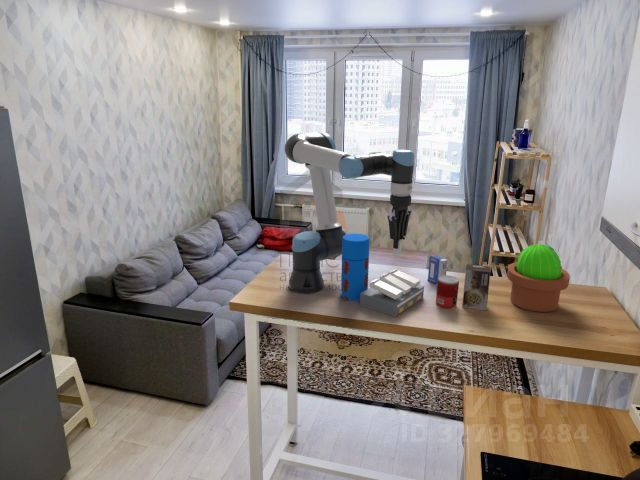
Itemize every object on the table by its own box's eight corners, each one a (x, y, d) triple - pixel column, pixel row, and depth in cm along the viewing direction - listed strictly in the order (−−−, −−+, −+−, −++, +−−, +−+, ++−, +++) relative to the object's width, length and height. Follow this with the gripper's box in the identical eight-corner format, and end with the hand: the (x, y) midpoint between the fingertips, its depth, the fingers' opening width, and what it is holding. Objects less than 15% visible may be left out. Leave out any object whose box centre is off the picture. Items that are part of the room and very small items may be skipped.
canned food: (457, 309, 179) (459, 283, 175) (435, 307, 180) (438, 281, 177) (455, 301, 186) (458, 276, 183) (435, 299, 187) (437, 274, 184)
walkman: (427, 280, 207) (429, 255, 203) (432, 279, 208) (434, 254, 204) (440, 286, 200) (443, 260, 197) (445, 285, 202) (447, 259, 198)
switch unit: (359, 304, 183) (360, 289, 181) (389, 287, 199) (390, 273, 197) (395, 316, 173) (396, 300, 171) (423, 297, 189) (424, 282, 187)
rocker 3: (388, 276, 190) (389, 271, 189) (394, 273, 193) (395, 268, 193) (413, 287, 184) (415, 282, 183) (419, 284, 187) (420, 279, 186)
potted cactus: (504, 310, 179) (512, 248, 171) (503, 288, 198) (511, 232, 191) (567, 319, 172) (579, 255, 164) (560, 296, 191) (570, 238, 184)
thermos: (335, 295, 191) (336, 237, 184) (352, 287, 199) (353, 231, 191) (356, 303, 184) (358, 243, 177) (372, 295, 192) (375, 237, 184)
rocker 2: (379, 279, 185) (380, 274, 184) (385, 276, 188) (386, 271, 187) (404, 294, 179) (406, 289, 178) (410, 291, 182) (411, 286, 181)
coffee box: (486, 304, 184) (491, 266, 179) (486, 311, 178) (491, 271, 173) (462, 301, 186) (466, 263, 182) (461, 307, 181) (465, 269, 176)
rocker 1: (369, 286, 180) (370, 281, 179) (375, 283, 183) (376, 277, 182) (395, 299, 173) (396, 293, 172) (401, 295, 177) (402, 290, 176)
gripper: (400, 198, 159) (396, 263, 166) (419, 192, 168) (414, 253, 176) (382, 195, 164) (378, 258, 171) (401, 189, 173) (397, 249, 180)
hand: (396, 255), depth 173 cm, fingers closed
